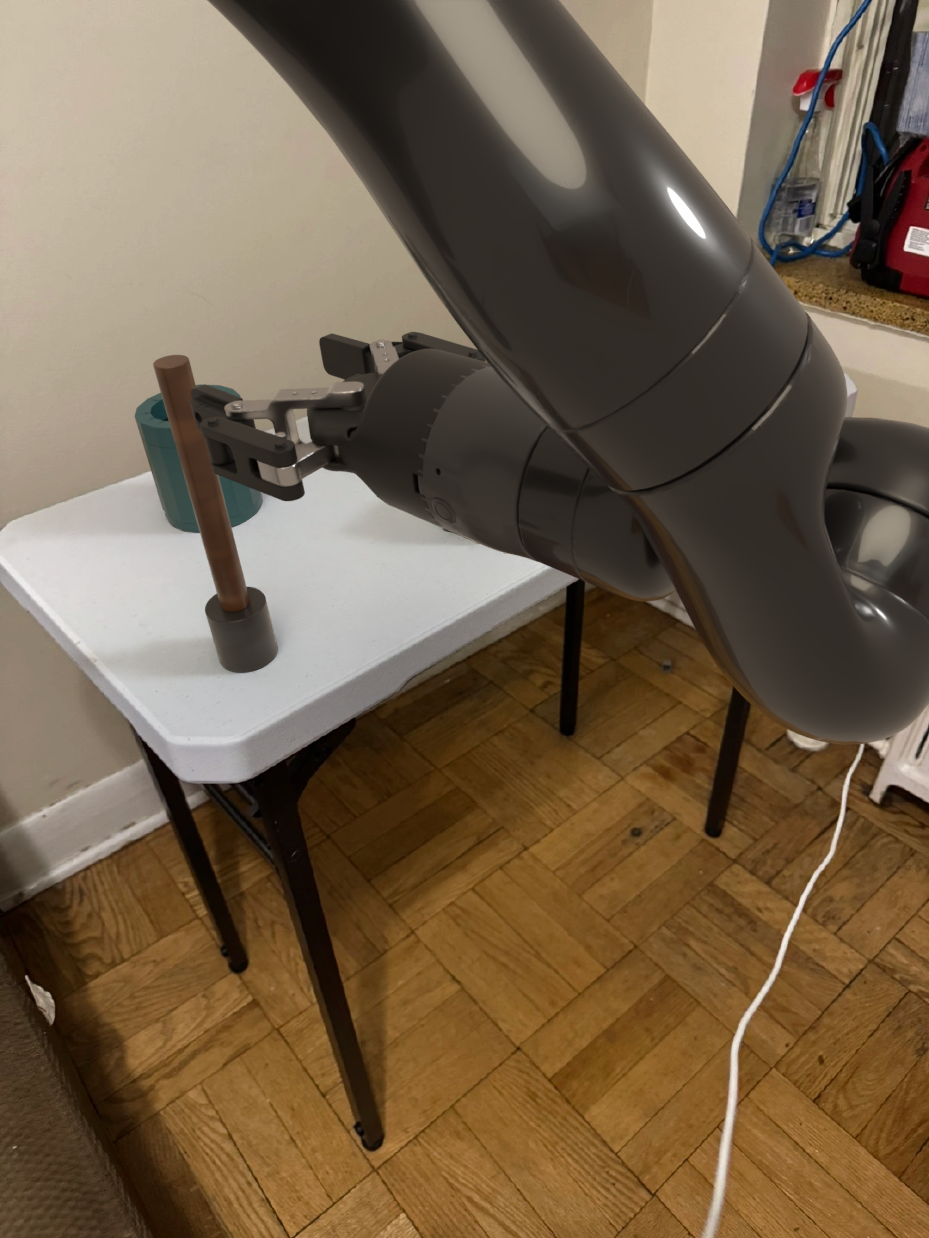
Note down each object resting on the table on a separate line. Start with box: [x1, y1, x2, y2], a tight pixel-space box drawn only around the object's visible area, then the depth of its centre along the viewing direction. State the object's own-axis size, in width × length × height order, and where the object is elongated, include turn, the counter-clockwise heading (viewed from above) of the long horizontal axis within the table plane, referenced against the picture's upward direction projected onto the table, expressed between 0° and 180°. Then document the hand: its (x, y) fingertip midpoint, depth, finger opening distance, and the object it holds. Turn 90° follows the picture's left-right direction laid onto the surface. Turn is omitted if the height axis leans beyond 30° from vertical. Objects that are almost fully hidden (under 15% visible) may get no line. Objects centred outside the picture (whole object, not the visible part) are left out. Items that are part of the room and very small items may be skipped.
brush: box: [152, 354, 278, 673], centre depth 61 cm, size 5×5×24 cm
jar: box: [134, 384, 264, 534], centre depth 84 cm, size 10×10×11 cm
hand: (265, 377), depth 47 cm, fingers open, 8 cm apart
